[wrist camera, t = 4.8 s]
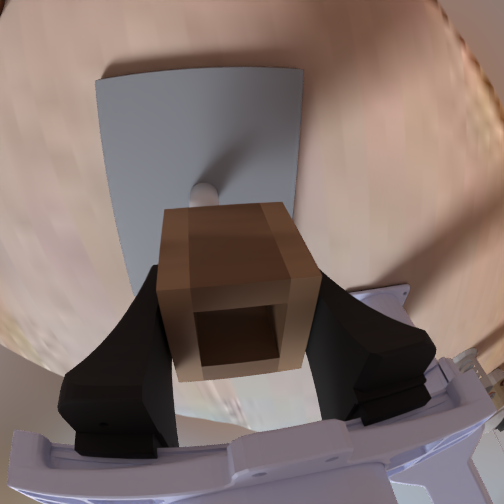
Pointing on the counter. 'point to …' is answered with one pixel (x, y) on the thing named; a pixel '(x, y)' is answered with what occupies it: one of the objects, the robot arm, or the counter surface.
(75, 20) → the counter surface
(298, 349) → the walnut collar
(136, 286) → the pin plate
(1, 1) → the food container
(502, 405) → the coffee cup
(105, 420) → the robot arm
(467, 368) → the french press
